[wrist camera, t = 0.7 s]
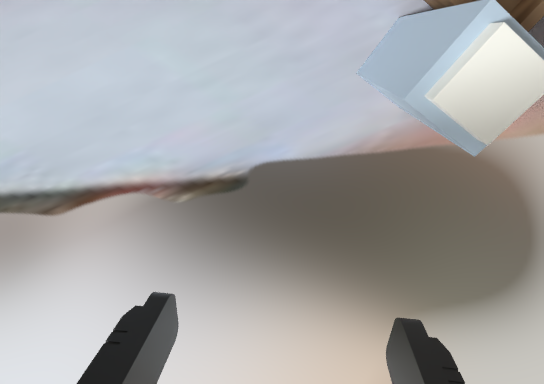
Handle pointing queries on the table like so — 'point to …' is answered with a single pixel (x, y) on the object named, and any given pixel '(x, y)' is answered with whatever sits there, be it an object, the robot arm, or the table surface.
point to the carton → (459, 71)
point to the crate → (518, 3)
